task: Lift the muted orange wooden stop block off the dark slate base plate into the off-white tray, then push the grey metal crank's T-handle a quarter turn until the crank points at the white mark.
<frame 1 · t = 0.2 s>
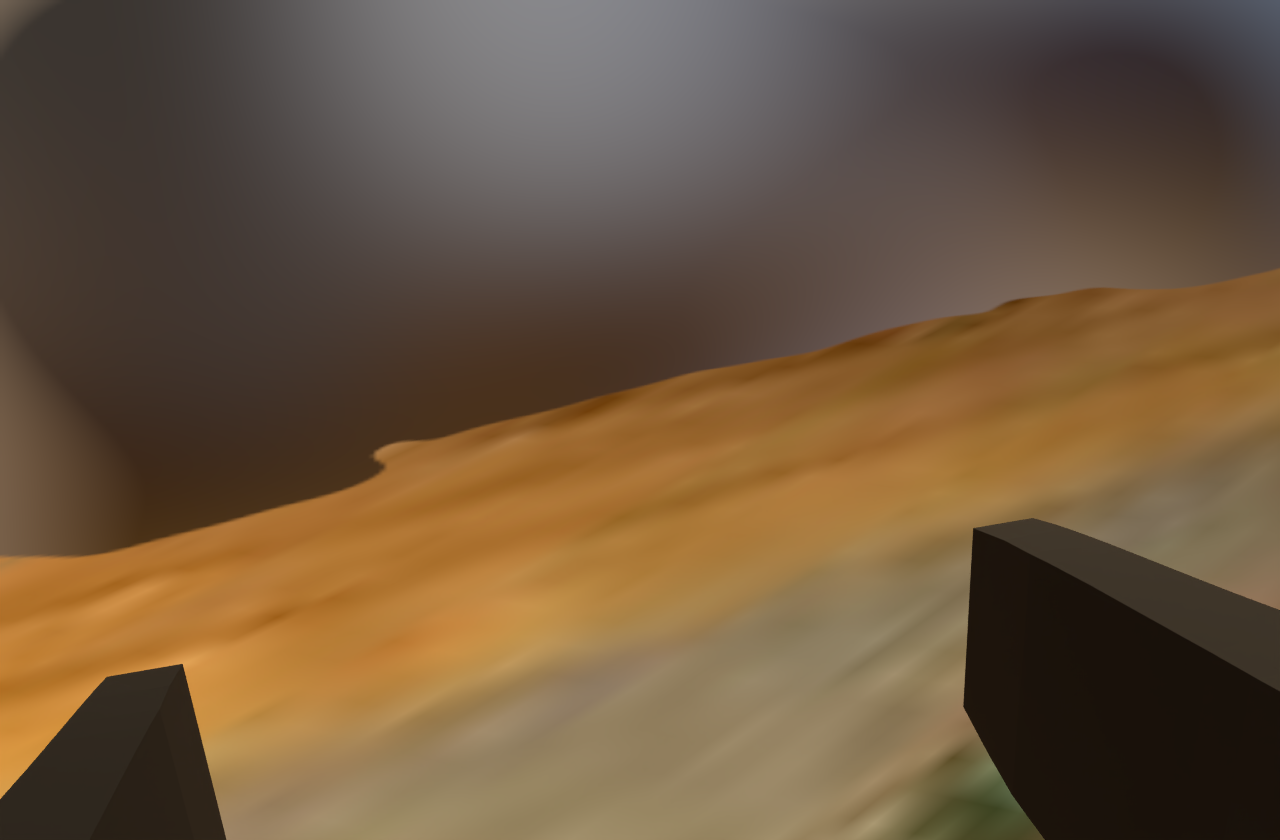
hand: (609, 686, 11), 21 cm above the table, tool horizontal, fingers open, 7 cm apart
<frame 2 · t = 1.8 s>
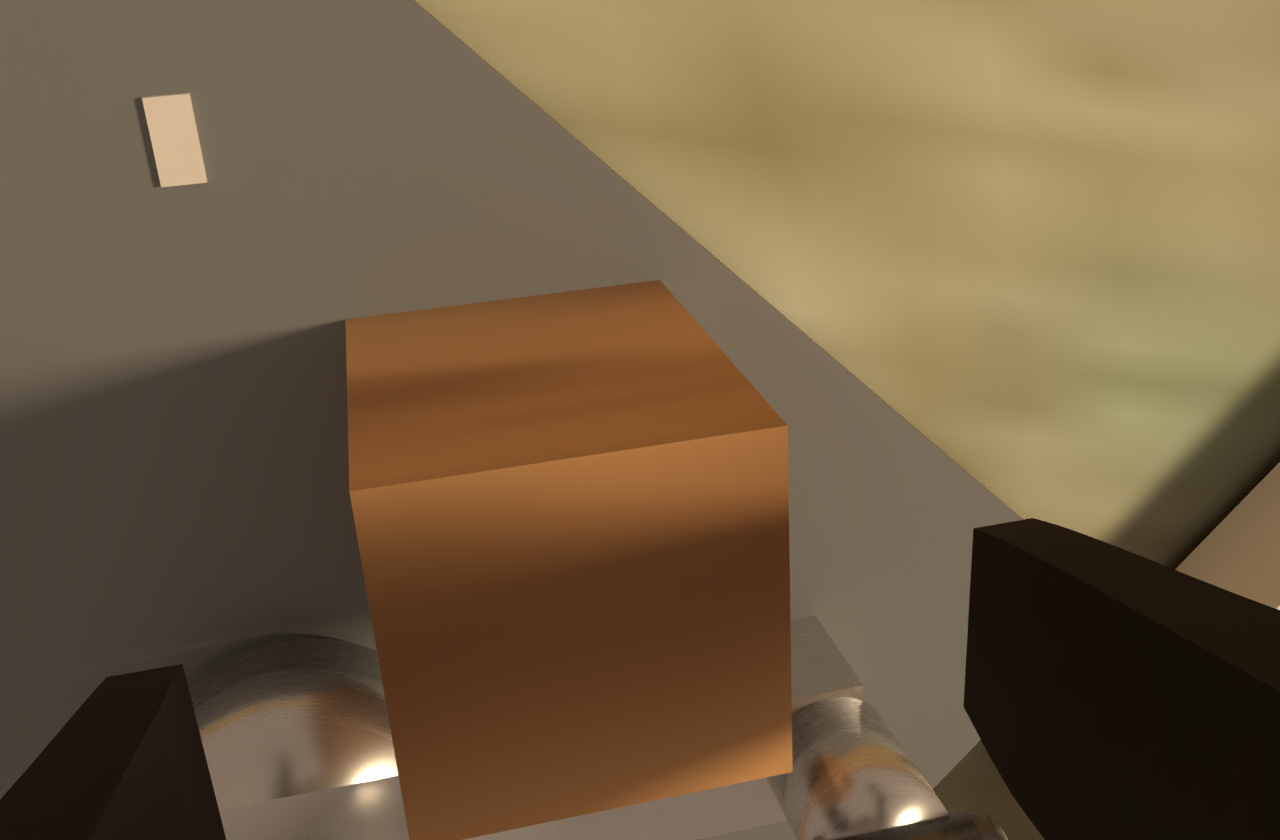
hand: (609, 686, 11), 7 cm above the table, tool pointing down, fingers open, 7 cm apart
crank base: (305, 710, 18), on the table
stop block: (521, 442, 16), point 1 cm above the table, touching crank base
crank: (536, 830, 16), point 4 cm above the table, hinge at -45.0°
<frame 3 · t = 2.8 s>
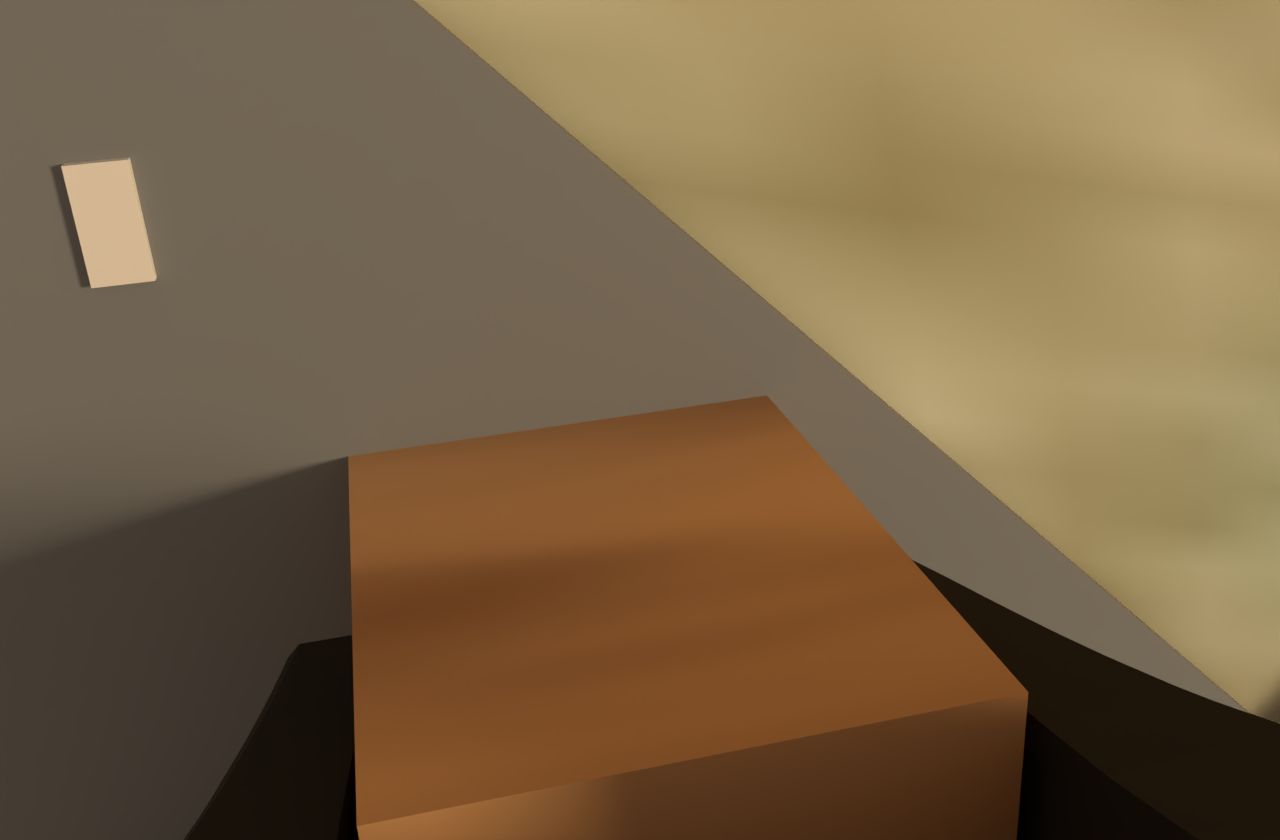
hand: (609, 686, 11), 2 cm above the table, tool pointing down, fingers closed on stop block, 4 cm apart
stop block: (580, 606, 12), point 1 cm above the table, touching crank base, gripper
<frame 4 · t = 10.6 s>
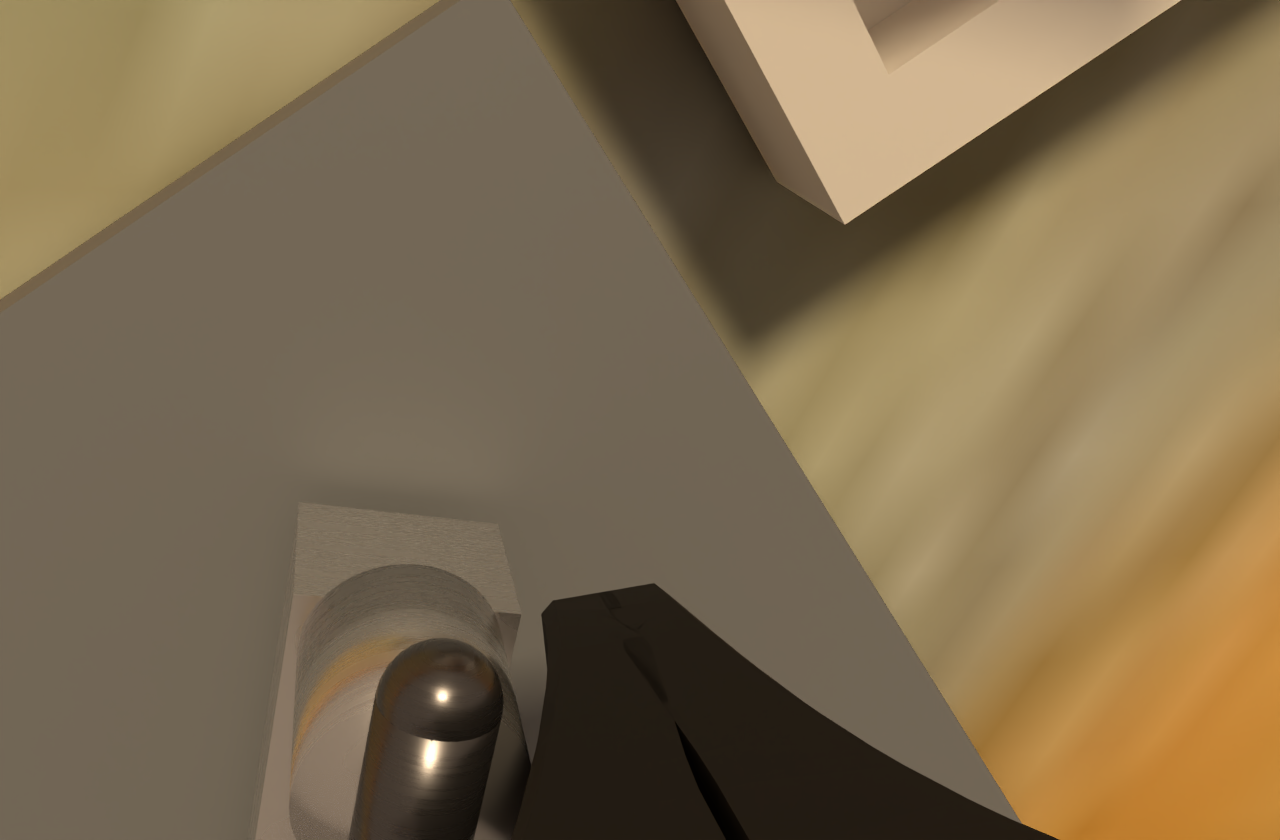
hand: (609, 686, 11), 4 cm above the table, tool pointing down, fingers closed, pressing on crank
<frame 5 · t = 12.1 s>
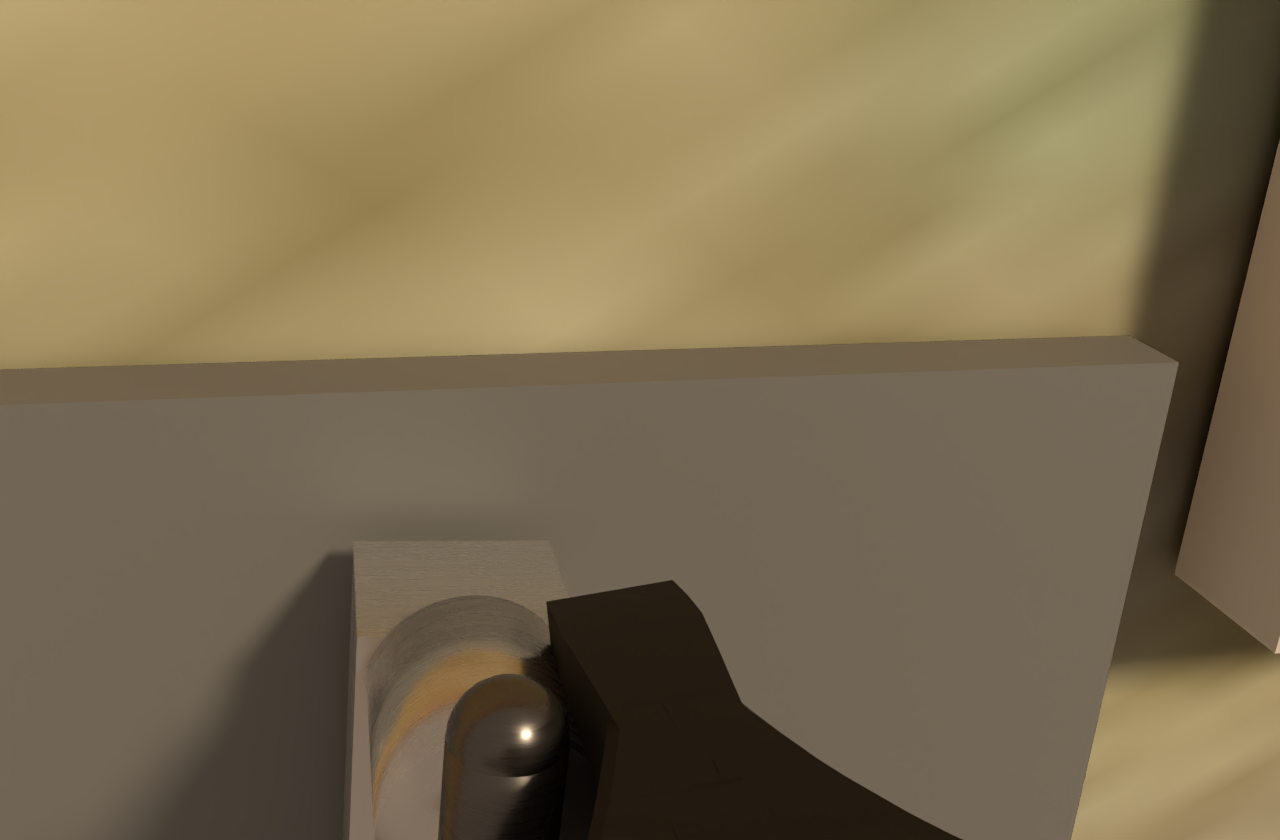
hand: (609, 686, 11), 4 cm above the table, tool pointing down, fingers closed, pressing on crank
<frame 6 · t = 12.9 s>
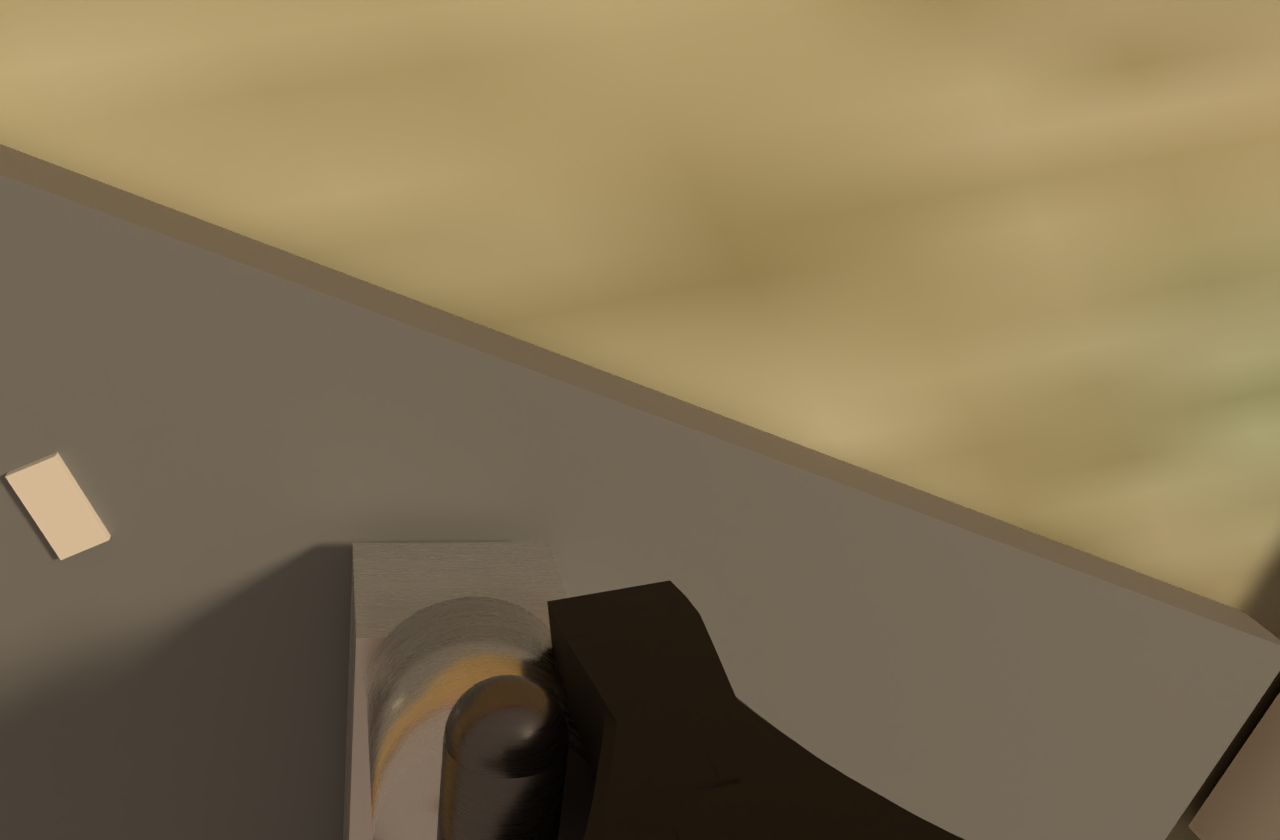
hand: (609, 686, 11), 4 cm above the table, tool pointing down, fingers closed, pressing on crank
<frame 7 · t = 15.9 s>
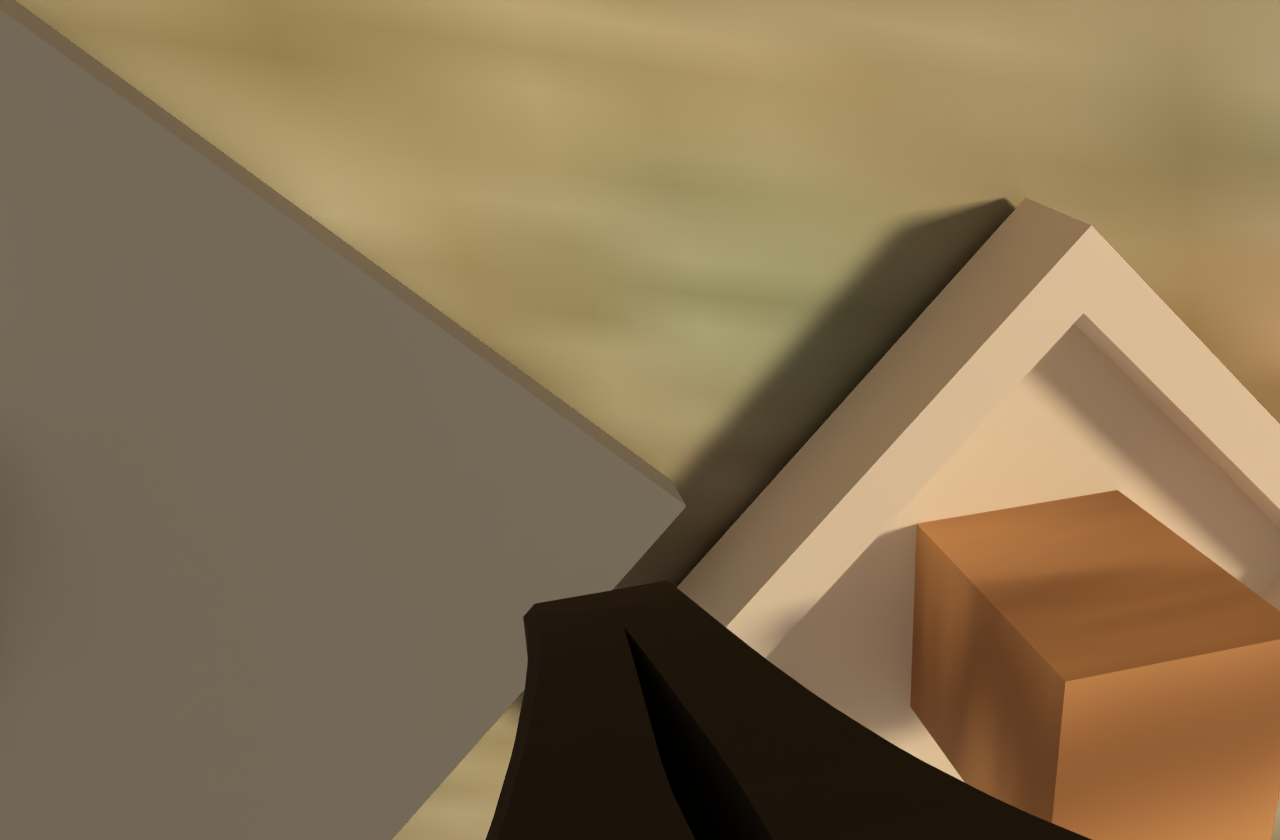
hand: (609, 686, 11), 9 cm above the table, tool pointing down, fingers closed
tray: (999, 594, 24), on the table
stop block: (1011, 600, 23), resting on tray
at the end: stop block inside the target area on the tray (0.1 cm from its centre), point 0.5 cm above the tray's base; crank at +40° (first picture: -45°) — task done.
